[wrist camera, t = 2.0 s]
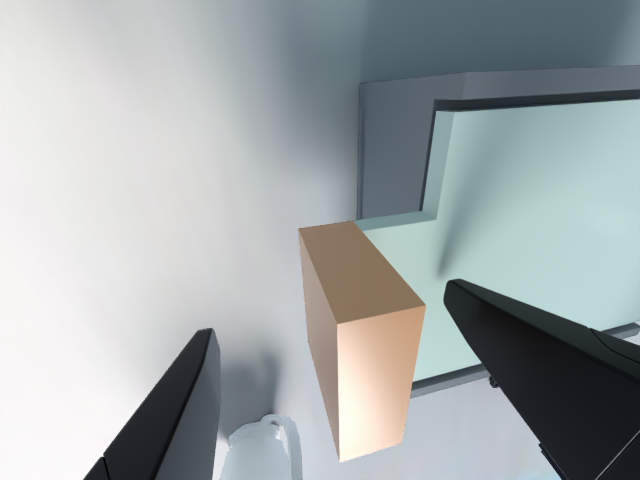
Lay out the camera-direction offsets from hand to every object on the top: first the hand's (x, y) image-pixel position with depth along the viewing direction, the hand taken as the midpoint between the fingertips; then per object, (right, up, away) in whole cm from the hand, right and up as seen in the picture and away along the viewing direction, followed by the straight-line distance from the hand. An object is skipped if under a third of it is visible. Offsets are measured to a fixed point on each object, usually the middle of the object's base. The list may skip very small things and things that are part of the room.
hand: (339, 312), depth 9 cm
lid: (+8, +2, +3) cm, 8 cm away
